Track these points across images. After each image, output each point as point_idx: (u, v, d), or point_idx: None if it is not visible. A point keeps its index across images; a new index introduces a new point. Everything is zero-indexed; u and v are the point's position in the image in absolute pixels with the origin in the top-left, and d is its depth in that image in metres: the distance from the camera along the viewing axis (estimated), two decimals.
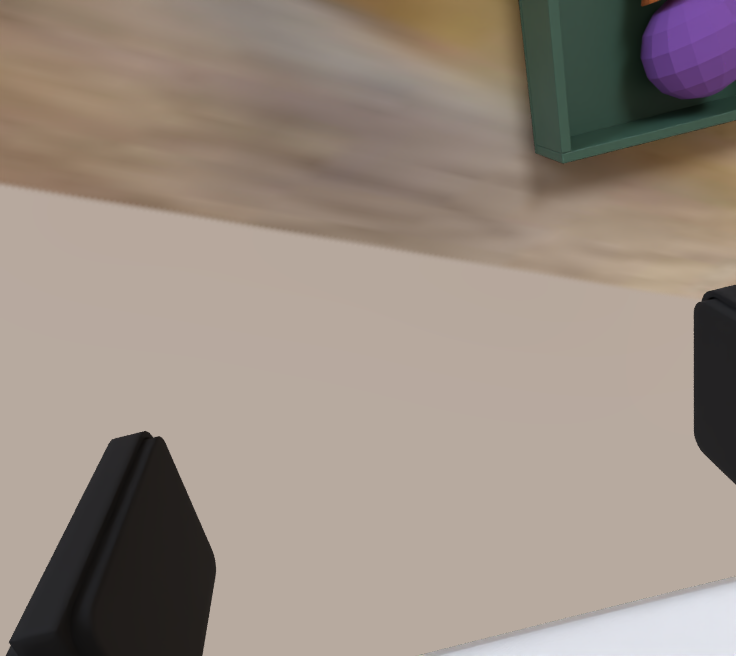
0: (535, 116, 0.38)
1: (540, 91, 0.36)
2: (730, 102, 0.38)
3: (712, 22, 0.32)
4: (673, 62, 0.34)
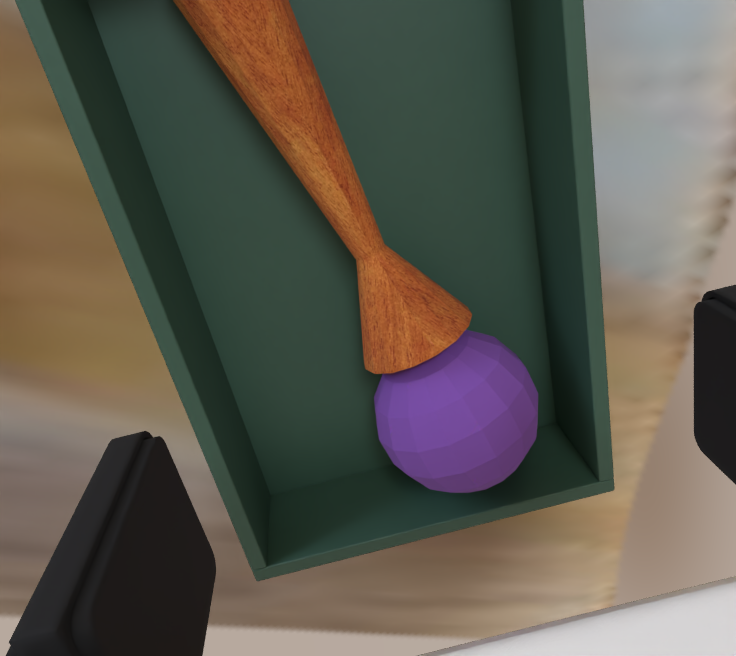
0: None
1: None
2: (529, 457, 0.25)
3: (444, 429, 0.20)
4: (401, 463, 0.21)
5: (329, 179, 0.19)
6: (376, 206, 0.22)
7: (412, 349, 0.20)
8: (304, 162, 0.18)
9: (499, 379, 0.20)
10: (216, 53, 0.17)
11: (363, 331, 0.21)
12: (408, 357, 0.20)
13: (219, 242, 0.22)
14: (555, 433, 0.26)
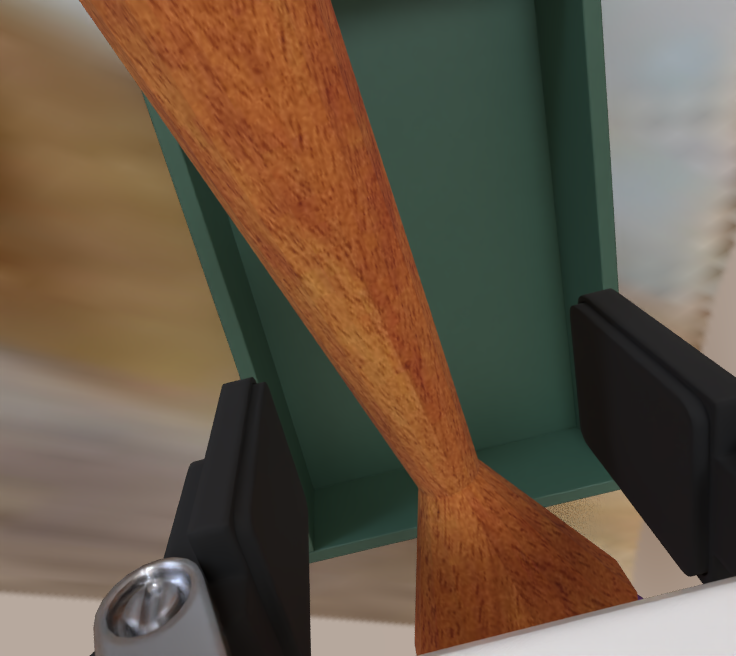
0: None
1: None
2: (551, 457, 0.28)
3: None
4: None
5: (383, 353, 0.08)
6: (417, 228, 0.25)
7: None
8: (330, 316, 0.08)
9: None
10: (133, 64, 0.07)
11: (424, 619, 0.11)
12: None
13: None
14: (575, 436, 0.29)
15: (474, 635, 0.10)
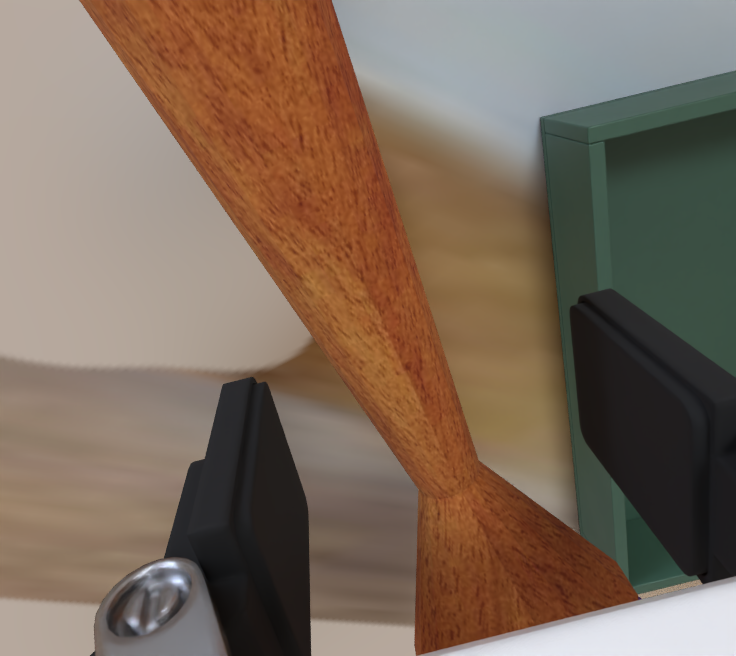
0: (582, 510, 0.33)
1: (591, 505, 0.31)
2: None
3: None
4: None
5: (383, 354, 0.08)
6: (724, 313, 0.29)
7: None
8: (329, 316, 0.08)
9: None
10: (133, 63, 0.07)
11: (423, 621, 0.11)
12: None
13: None
14: None
15: (474, 637, 0.10)
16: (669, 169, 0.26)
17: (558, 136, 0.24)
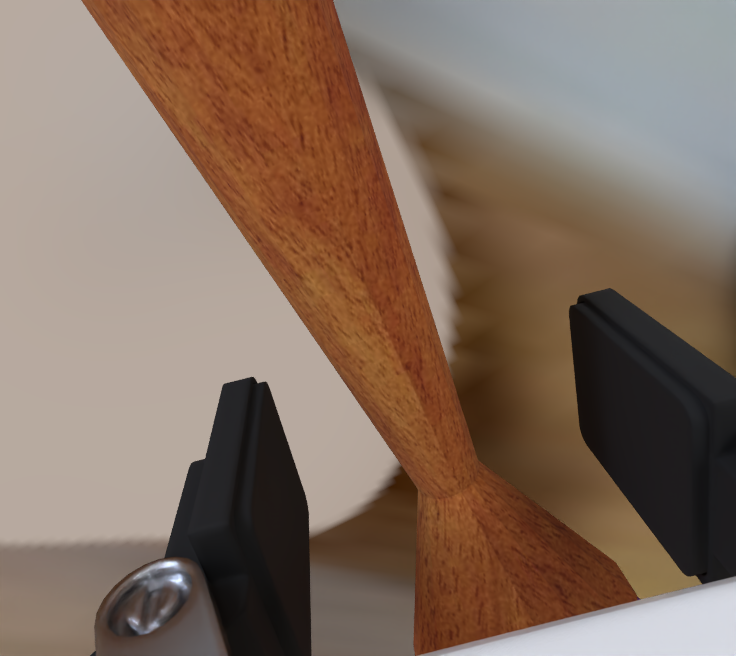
0: None
1: None
2: None
3: None
4: None
5: (383, 354, 0.08)
6: None
7: None
8: (330, 316, 0.08)
9: None
10: (133, 62, 0.07)
11: (423, 621, 0.11)
12: None
13: None
14: None
15: (473, 637, 0.10)
16: None
17: None
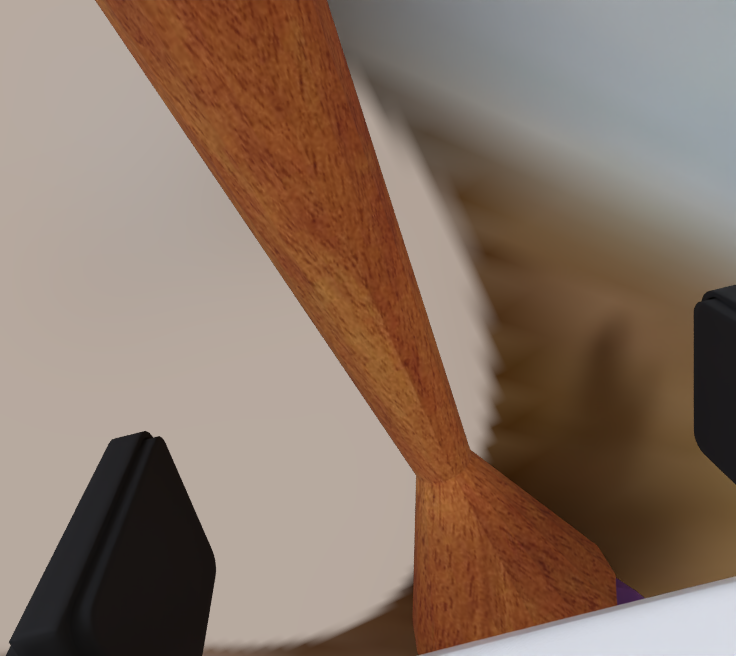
0: None
1: None
2: None
3: None
4: None
5: (384, 352, 0.10)
6: None
7: None
8: (337, 318, 0.09)
9: None
10: (172, 102, 0.08)
11: (420, 596, 0.12)
12: None
13: None
14: None
15: (465, 608, 0.11)
16: None
17: None
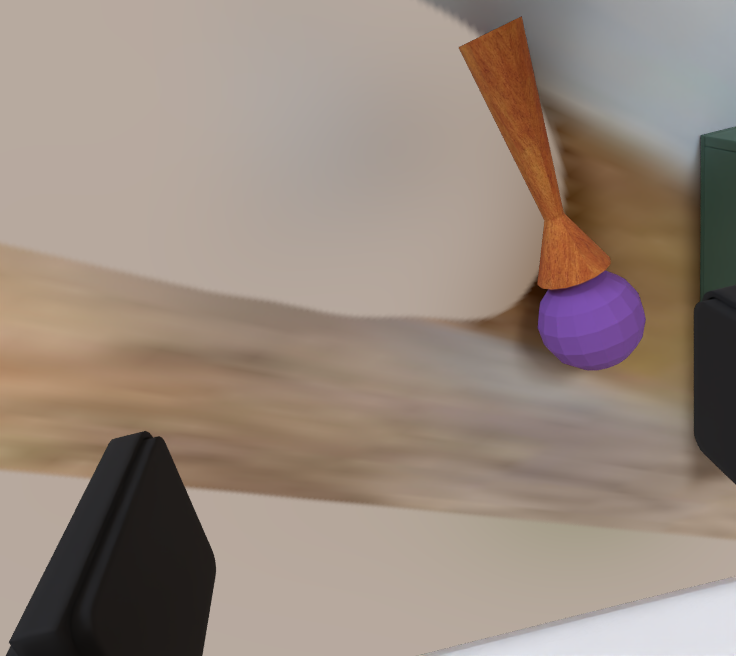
0: None
1: None
2: None
3: (595, 322, 0.34)
4: (561, 346, 0.35)
5: (542, 171, 0.33)
6: None
7: (580, 273, 0.33)
8: (530, 160, 0.32)
9: (627, 295, 0.34)
10: (492, 97, 0.31)
11: (544, 264, 0.35)
12: (577, 278, 0.33)
13: None
14: None
15: (562, 259, 0.34)
16: None
17: (720, 149, 0.34)
